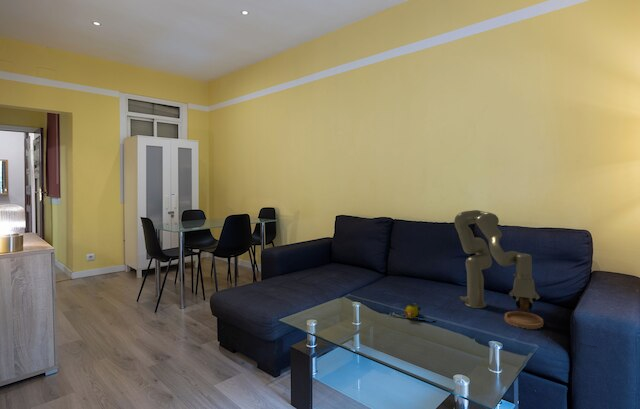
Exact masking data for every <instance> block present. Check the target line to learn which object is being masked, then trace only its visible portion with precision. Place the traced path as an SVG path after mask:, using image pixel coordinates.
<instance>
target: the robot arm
mask: <svg viewBox="0 0 640 409" xmlns="http://www.w3.org/2000/svg"><path fill="white" fill-rule="evenodd" d="M453 220H454V227H455V229H456V232H457V234H458V237H459V240H460V243H461V248H462V250H463V251H464V253H465V254H468V255H471V256H468V257H467V258H466V260H465V269H466V284H467V286H466V287H467V288H466V290H467V292H466V293H467V295H466V296H461V295H460V296H459V300H461V301H464V305H465V306H466V307H469V308H473V309H484V308H487V302H485V301H484V299H485V297H484V296H485V294H484V293H485V292H484V291H485V290H484V289H485V288H484V284H485V279H484V278H485V277H484V274H483V271H482V270H487V269H490V267H492V265H493V260H492V258H493V259H494V260H495V261H496V263H497V264H499V266H502V267H510V266H513V265H515V272H514V273H512V275H513V276H514V280H513V288H512V290H511V291H509V292H508V295H509V296H510V297H512V298H513V300H514V301H515V307H517V309H518V310H519V297H523V298H529V311H531V310H532V309H533V303H534V302H535V301H536V300H539V299H540V297H541V296H540V295H539V294H538V292H537V291H536V286H535V281H534V278H533V274H532V273H533V271H532V270H533V264H532V263H533V261H532V260H533V259H532V255H531V254H529V253H522V252H519V251H516V250H510V251H506V252H505V251H504V250H503V248H502V247H501V245H500V240H501V238H502V236H503V233H502V231H501V230H500V229H499V228H498V225H499V221H500V220H499V217H498V216H497V215H496V214H495V213H492V212H488V211H483V210H478V209H473V210H465V211H461V212H459V213H458V214H456V215H455V217H454V219H453ZM473 224H476V226H478V228H479V229H480V231H481V232H482V234H483V235H484V237H485V238H486V239H487V241H488V244H487V241H486V240H485V239H483V238H481V237H475V235H474V233H473V232H474V231H473V230H472V228H471V227H469V225H473ZM472 254H473V255H472ZM474 254H475V255H474Z"/></svg>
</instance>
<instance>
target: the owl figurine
mask: <svg viewBox="0 0 640 409" xmlns="http://www.w3.org/2000/svg"><path fill="white" fill-rule="evenodd" d="M421 307H422V306H420V305H418V304H417V303H416V302H414V303H409V304H408V305H407V306H406V307H405V310H404V311H403V313H404V315H406V317H403V316H402V317H401V316H389V315H391V313H392V312H389V315H387V316H388V317H394V318H401V319H402V318H404V319H405V318H406V319H410V320H414V319H413V318H414V317H416V316H419V313H420V311H422V308H421ZM415 320H416V321H418V320H417V319H415Z"/></svg>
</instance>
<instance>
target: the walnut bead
mask: <svg viewBox="0 0 640 409" xmlns="http://www.w3.org/2000/svg"><path fill="white" fill-rule="evenodd" d="M529 302H530V299H529V298H523V297H519V309H518V311H522V312H530V310H529Z"/></svg>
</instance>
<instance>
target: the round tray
mask: <svg viewBox="0 0 640 409" xmlns="http://www.w3.org/2000/svg"><path fill="white" fill-rule="evenodd" d="M503 318H504V319H503V320H504V321H505V323H507V324H509V325H510V326H512V325H513V327H515V326H516V328H519V327H521V328H520V329H524V328H526V329H525V330H539V329H542V328H543V327H544V326H543V325H544V319H543V318H542V317H541V316H540V315H537V314H535V313H531V312H529V311H527V312H526V311H521V310H513V311H511V310H510V311H508V312H505V313H504V317H503ZM541 327H542V328H541ZM538 328H539V329H538Z"/></svg>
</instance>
